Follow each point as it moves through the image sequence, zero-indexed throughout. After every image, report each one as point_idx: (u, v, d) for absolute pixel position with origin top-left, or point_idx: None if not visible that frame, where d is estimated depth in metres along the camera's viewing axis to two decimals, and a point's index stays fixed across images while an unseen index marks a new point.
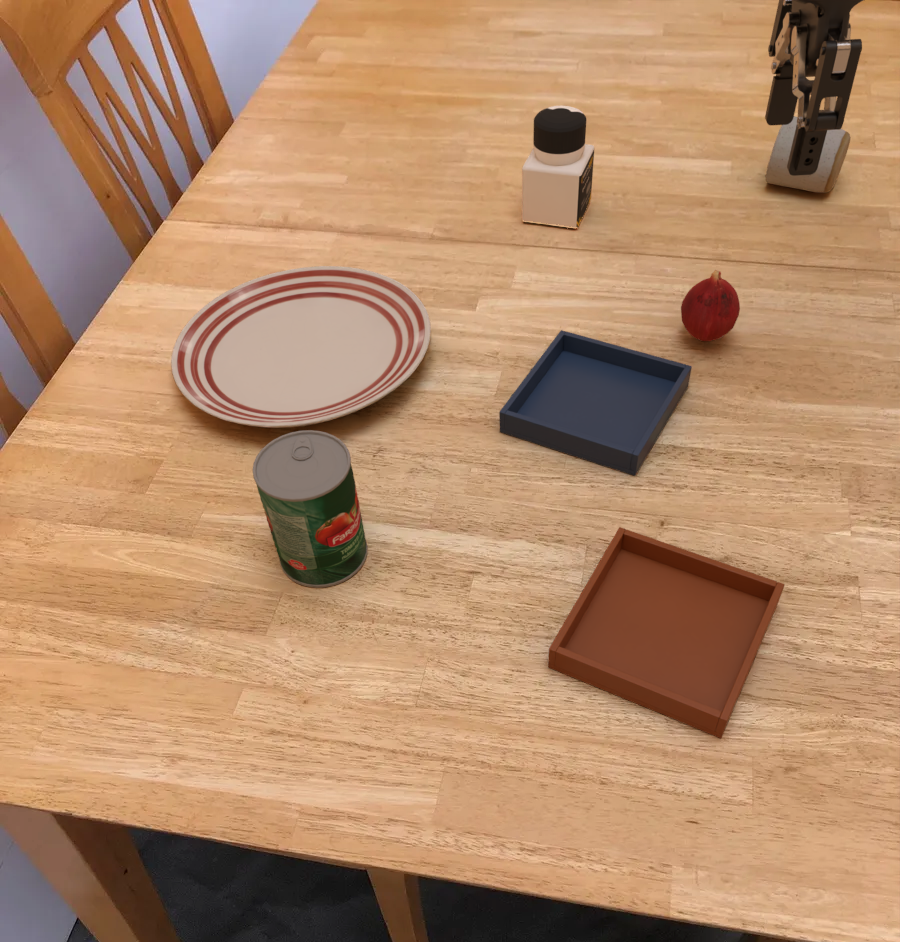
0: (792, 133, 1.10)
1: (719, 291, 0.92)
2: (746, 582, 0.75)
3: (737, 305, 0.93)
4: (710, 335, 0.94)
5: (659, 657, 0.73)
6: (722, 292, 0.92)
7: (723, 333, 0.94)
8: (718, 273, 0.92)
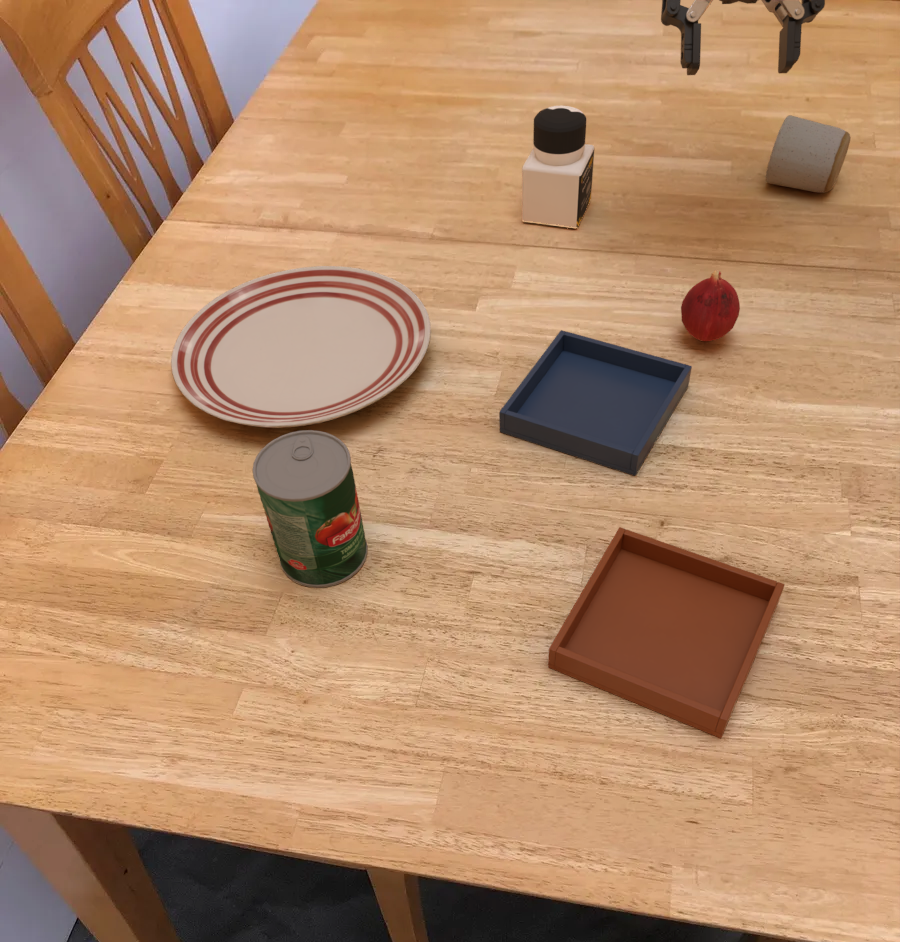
0: (792, 133, 1.10)
1: (719, 291, 0.92)
2: (746, 582, 0.75)
3: (737, 305, 0.93)
4: (710, 335, 0.94)
5: (659, 657, 0.73)
6: (722, 292, 0.92)
7: (723, 333, 0.94)
8: (718, 273, 0.92)
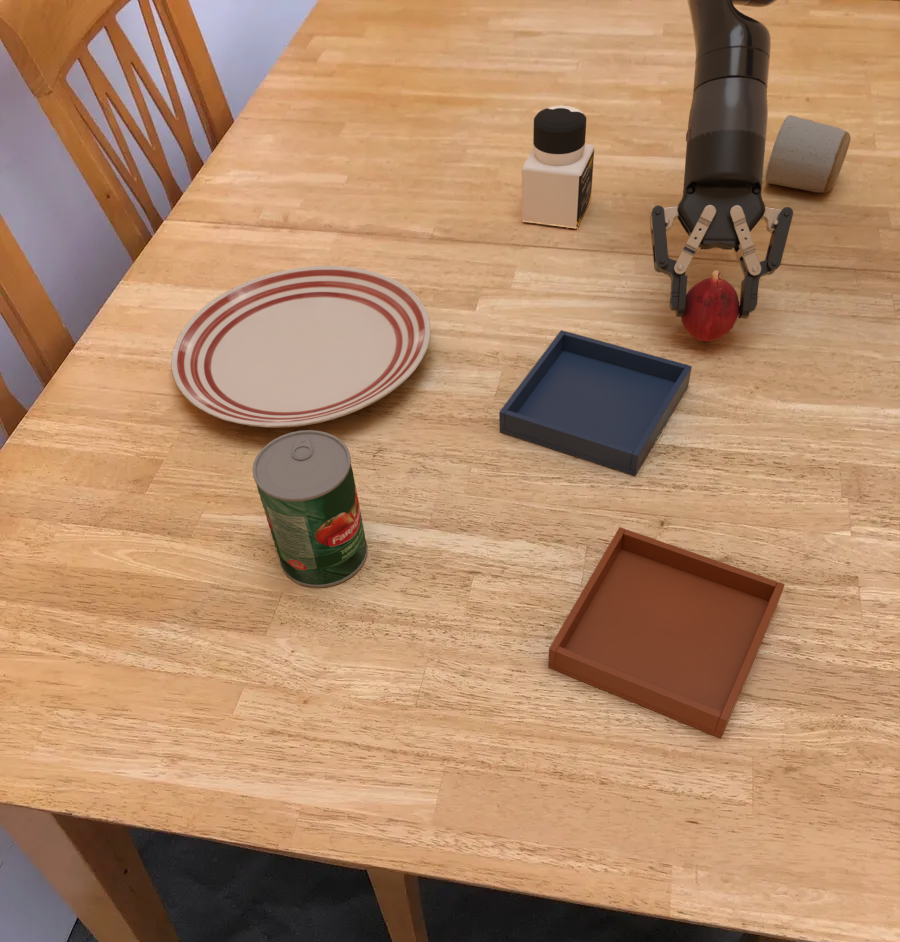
0: (792, 133, 1.10)
1: (718, 291, 0.92)
2: (746, 582, 0.75)
3: (736, 305, 0.93)
4: (710, 335, 0.94)
5: (659, 657, 0.73)
6: (721, 292, 0.92)
7: (723, 333, 0.94)
8: (718, 273, 0.92)
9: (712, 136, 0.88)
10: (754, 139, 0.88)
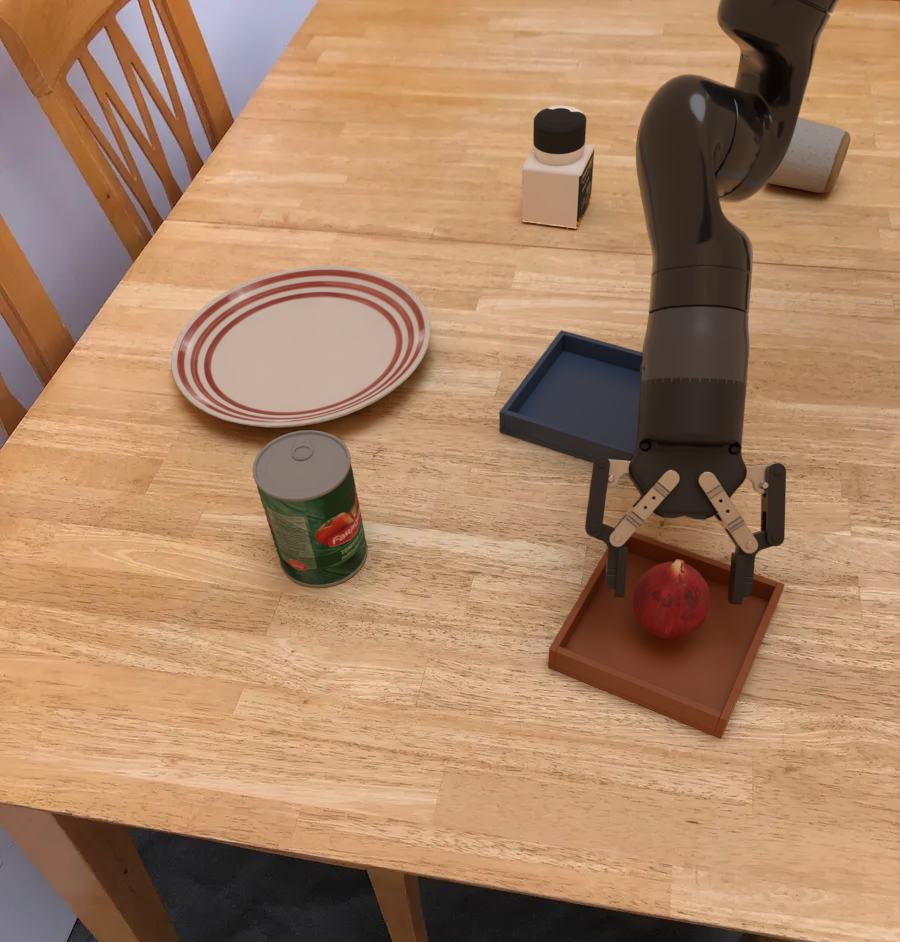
0: None
1: (681, 588, 0.68)
2: None
3: (706, 601, 0.70)
4: (671, 637, 0.71)
5: (659, 657, 0.73)
6: (685, 589, 0.68)
7: (688, 634, 0.71)
8: (680, 565, 0.68)
9: (673, 384, 0.64)
10: (730, 388, 0.64)
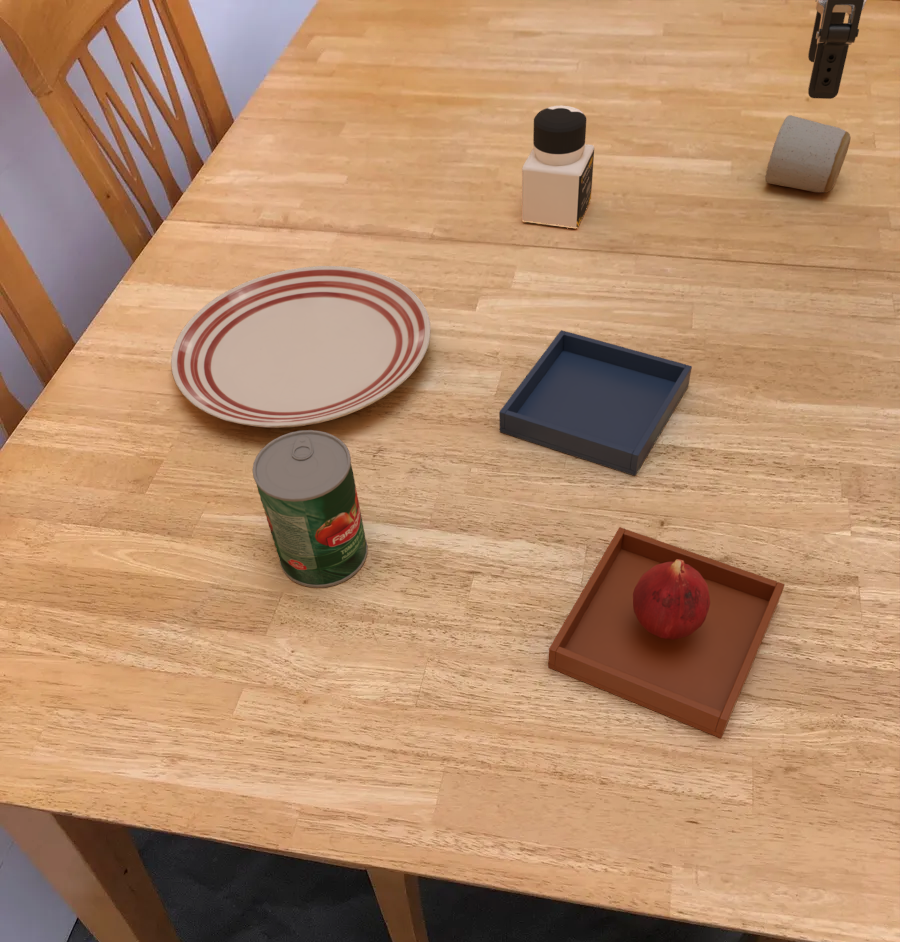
0: (792, 133, 1.10)
1: (681, 588, 0.68)
2: (746, 582, 0.75)
3: (706, 601, 0.70)
4: (671, 637, 0.71)
5: (659, 657, 0.73)
6: (685, 589, 0.68)
7: (688, 634, 0.71)
8: (680, 565, 0.68)
9: None
10: None
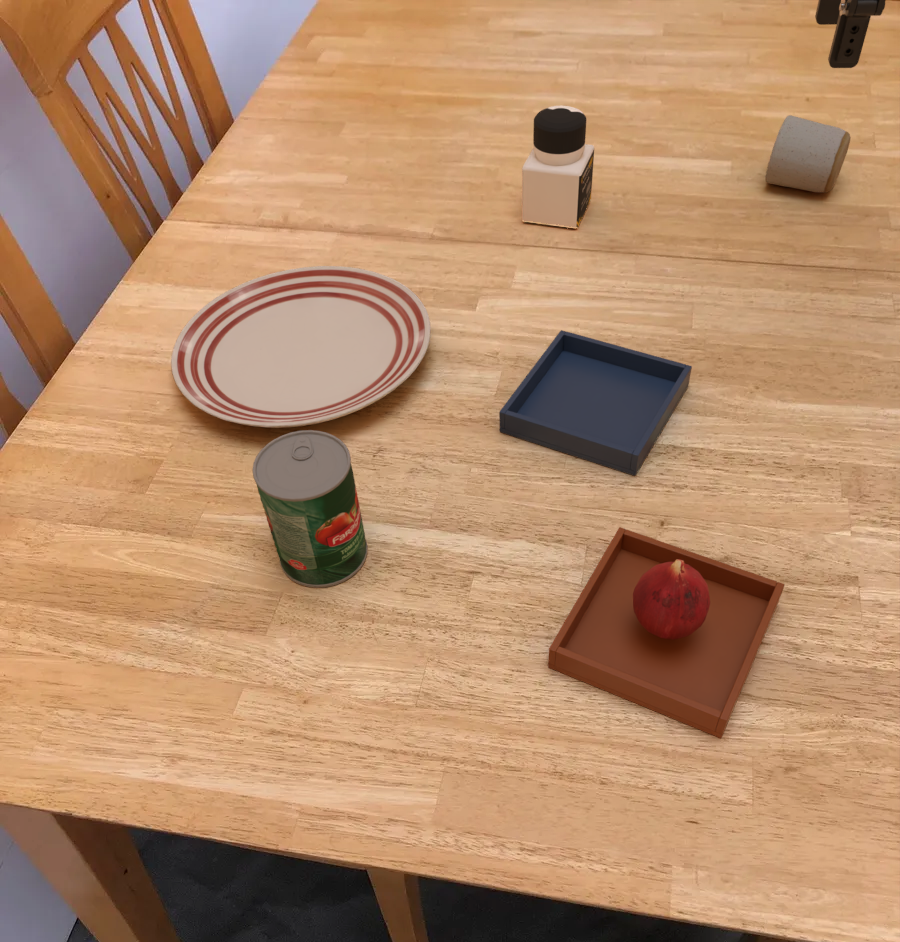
0: (792, 133, 1.10)
1: (681, 588, 0.68)
2: (746, 582, 0.75)
3: (706, 601, 0.70)
4: (671, 637, 0.71)
5: (659, 657, 0.73)
6: (685, 589, 0.68)
7: (688, 634, 0.71)
8: (680, 565, 0.68)
9: None
10: None
